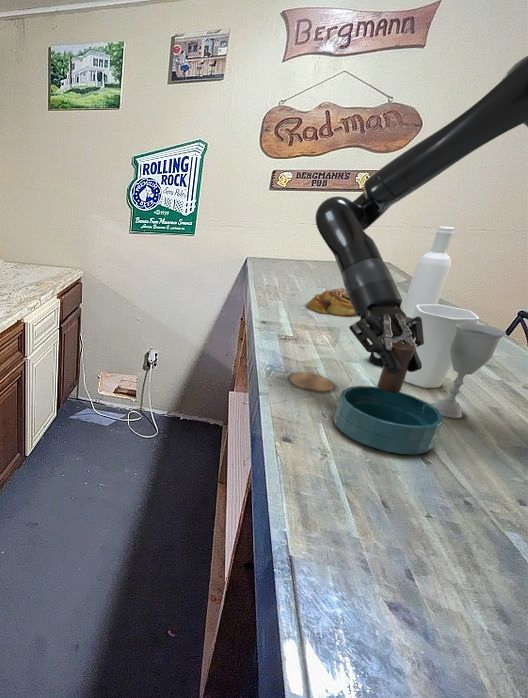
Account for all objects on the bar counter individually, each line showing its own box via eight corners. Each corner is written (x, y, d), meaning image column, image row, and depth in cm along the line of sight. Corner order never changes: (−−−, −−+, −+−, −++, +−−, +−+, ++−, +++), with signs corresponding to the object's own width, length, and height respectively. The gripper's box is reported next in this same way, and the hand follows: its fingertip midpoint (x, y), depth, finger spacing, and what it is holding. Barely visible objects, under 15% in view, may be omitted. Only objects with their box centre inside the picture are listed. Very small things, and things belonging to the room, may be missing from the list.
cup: (389, 368, 113) (412, 301, 106) (440, 376, 109) (467, 307, 102) (398, 386, 104) (423, 315, 97) (454, 396, 100) (485, 322, 93)
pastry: (361, 318, 148) (368, 294, 145) (310, 313, 153) (315, 290, 150) (352, 307, 160) (359, 284, 156) (305, 302, 164) (310, 280, 161)
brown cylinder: (396, 385, 86) (411, 344, 83) (403, 394, 83) (418, 351, 80) (374, 382, 88) (387, 341, 84) (380, 390, 84) (393, 348, 81)
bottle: (396, 328, 140) (430, 227, 128) (396, 321, 146) (428, 224, 134) (429, 333, 136) (467, 229, 123) (427, 326, 141) (463, 226, 129)
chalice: (430, 416, 92) (463, 332, 84) (419, 401, 98) (449, 321, 90) (475, 423, 89) (514, 337, 82) (461, 407, 95) (496, 326, 88)
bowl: (414, 420, 90) (424, 393, 88) (445, 465, 77) (458, 434, 75) (326, 406, 95) (333, 380, 93) (341, 446, 82) (350, 417, 79)
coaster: (329, 378, 108) (330, 376, 108) (337, 394, 100) (337, 392, 100) (287, 372, 111) (288, 370, 110) (292, 388, 103) (292, 386, 103)
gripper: (352, 279, 83) (388, 366, 77) (418, 275, 86) (459, 361, 79) (324, 299, 90) (355, 381, 84) (386, 295, 92) (421, 375, 86)
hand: (405, 370), depth 82 cm, fingers closed on brown cylinder, 3 cm apart
